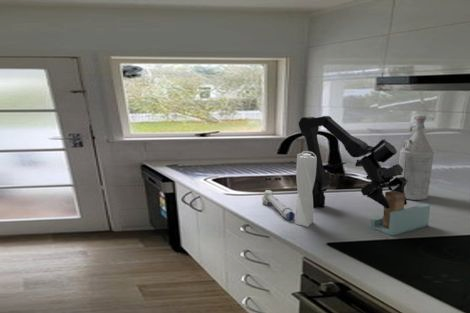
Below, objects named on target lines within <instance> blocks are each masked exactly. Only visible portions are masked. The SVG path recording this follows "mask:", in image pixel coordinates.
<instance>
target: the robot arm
mask: <svg viewBox="0 0 470 313" xmlns="http://www.w3.org/2000/svg"><path fill="white" fill-rule="evenodd" d="M298 127H299V129H300V130H299V131H300V133H301V134H302V136H303V137H304V139H305V142H306V147H307V151H310V152H313V153H314V154H315V155H316V157H317V165H316V176H315V182H314V186H313V190H312V195H313V208H319V209H320V208H323V209H324V208H325V204H326V196H325V193H324V192H326V191H327V189H328V188H329V187H330V186H331V181H332V178H331V176H330V175H331V174H330V171H326V170H325V169H324V164H323V160H322V154H321V149H320V146H319V140H318V133H319V127H322V128H324V129H326V130H327V131H328V132H329V133H330V134H331V135H332V136H333V137H335V139H337V140H338V141H339V142H340V143H342V145H343V147H344V149H345V150H346V152H347V153H348V154H349V156H351V157H352V158H353V159H354V158H355V159H356V158H360V159H356V162H355V164H354V166H355V167H358V168H359V167H360V168H361V167H362V169H363V170H364V172H365V173H366V176H365V178H366V179H367V180H370V181H368V182H366V184H364V185H363V186H362V187H361V188H360V189H361V190H360V192H361V194H362V195H363V197H365V196H366V197H367V198H369V199H371V200H373V201H375V202H376V203H378V204H379V205H381V206H382V207H383V208H384V207H385V208H387V209H389V208H390V206H389V204H388V202H387V200H386V198H385V194H384V193H383V190H384V189H386V188H388V190H390V191H397V192H401V193H404V187H405V185H406V183H407V182H408V181H407V180H406V178H405V177H398V175H402V172H403V168H402V167H401V166H400V165H399V163H398V164H395V165H392V166H391V167H388V168H386V167H385V166H383V167H382V165H381V164H380V163H385V162H387V161H388V160H389V159H392V157H393V156H395V155H396V154H397V153H398V151H397V148H396V147H395V146H394V145H393V144H391V143H390V142H388V141H387V140H386V139H381V140H380V141H379V142H378V143H377V144H376V145H374V146H371V145H369V144H368V143H367V142H365V140H364V141H363V140H362V139H360V138H358V137H355V136H353V135H351V134H350V133H349V131H346V129H344V128H343V127H342V126H341V125H339V123H337V122H336V121H335V120H334V119H333V118H332V117H331V116H330V115H321V116H318V117H314V116H303V117H301V118H300V120H299V121H298ZM308 154H311V156H313V157H315V156H314V155H313V154H312V153H308ZM361 157H362V158H361ZM404 194H405V193H404ZM407 204H408V201H407V199H406V197H405V201H404V206H406V205H407Z"/></svg>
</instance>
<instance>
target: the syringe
mask: <svg viewBox="0 0 470 313" xmlns="http://www.w3.org/2000/svg"><path fill="white" fill-rule="evenodd" d="M261 200H262V204H263V205H266V206H274V208H275V209H277V211H278V212H279V213H280V214H281V215H280V216H282V218H284V219H286V221H293V220H294V219H295V217H296V213H295V212H293V209H292V208H290V207H288V206H287V205H285V203H284V202H282V201H281V200H280V199H278V198H277V197H276V196H275V195H274V192H273V191H272V190H270V189H269V190H268V189H266V190H265V191H264V194H263V195H262V196H261Z"/></svg>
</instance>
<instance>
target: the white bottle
mask: <svg viewBox="0 0 470 313" xmlns="http://www.w3.org/2000/svg"><path fill="white" fill-rule="evenodd" d="M426 116H427V115H426V114H425V115H424V114H419V113H418V114H417V113H416V114H415V116H414V118H413V120H412V122H413V123H411V125H409V126H410V127H409V131H410V132H412V131H413V128H415V132H414V133H413V134H412V135H411V137H410V138H409V139H404V142H403V145H402V148H401V149H400V150H399V158H398V159H399V161H398V164H399V165H400V166H401V167H402V168H403V172H402V175H397V177H405V178H406V180H407V181H408V182H407V183H406V185H405V187H404V193H405V197H406V200H413V201H418V200H419V201H420V200H421V201H422V200H426V199H428V198H429V190H430V183H431V176H432V168H433V162H434V155H435V152H434V151H433V149H432V147H431V145H430V143H429V141H428V139H427V137H426V135H425V133H424V131H425V130H426V126H425V122H426V121H425V120H426V119H427V117H426ZM414 120H416V121H415V122H414ZM414 123H415V124H416V125H415V126H413V124H414Z"/></svg>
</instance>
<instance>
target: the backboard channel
mask: <svg viewBox="0 0 470 313" xmlns="http://www.w3.org/2000/svg"><path fill="white" fill-rule="evenodd" d="M430 210H431V204H428V203H424V204H420V205H419V204H418V205H416V206H412V207H407V208H404V209H402V210H397V211H393V212H390V221H389V229H387V228H384V227H383V216H380V217H379V216H378V217H374V218H371V219H370V228H372V229H374V230H377V231H379V232H382V233H385V234H386V235H390V236H397V235H400V234H404V233H407V231H408V232H410V231H411V230H412V231H415V230H419V229H422V228H426V227H428V226H429V220H430ZM418 228H419V229H418Z"/></svg>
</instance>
